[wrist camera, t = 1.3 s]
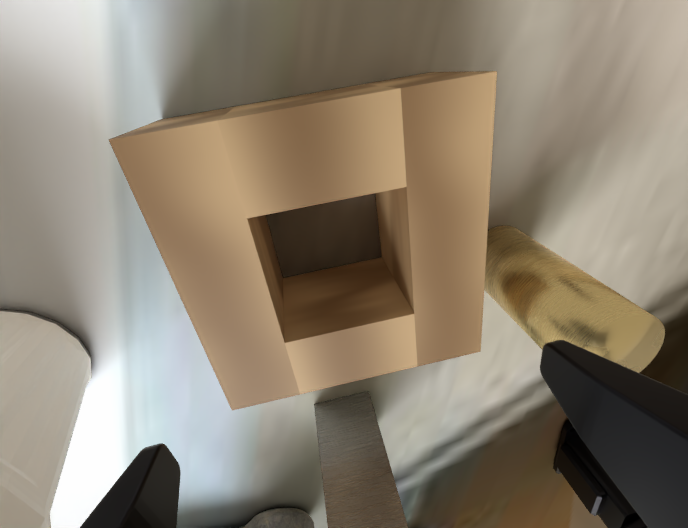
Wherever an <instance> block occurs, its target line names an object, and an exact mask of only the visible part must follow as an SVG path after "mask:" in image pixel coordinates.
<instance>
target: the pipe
mask: <svg viewBox="0 0 688 528" xmlns="http://www.w3.org/2000/svg"><path fill="white" fill-rule="evenodd" d="M238 528H314V522H313V520H312V518H311V517H310V516H309V515H308V514H307V513H306V512H304V511H303V510H300V509H297V508H276V509H271V510H267V511H264V512H261V513H260V514H258V515H256V516H255V517H253V519H252V520H251V521H250V522H249V523H247V525H246V526H242V527H238Z"/></svg>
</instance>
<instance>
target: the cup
mask: <svg viewBox="0 0 688 528" xmlns="http://www.w3.org/2000/svg"><path fill="white" fill-rule="evenodd" d="M91 377H92V375H91V358H90V353H89V352H88V351H87V349H86V348H85V346H84V345H83V343H82V342H81V340H80V339H79V337H78V336H76V335H75V334H74V333H72V332H71V331H69V330H68V329H67V328H65V327H64V326H63V325H61V324H60V323H58V322H56V321H53V320H51V319H48V318H45V317H42V316H39V315H37V314H34V313H31V312H24V311H14V310H3V309H0V528H51V522H50V510H51V507H52V503H53V500H54V496H55V493H56V489H57V486H58V482H59V479H60V476H61V472H62V469H63V465H64V462H65V458H66V455H67V451H68V448H69V444H70V441H71V437H72V434H73V430H74V427H75V423H76V420H77V417H78V413H79V410H80V406H81V403H82V399H83V396H84V392H85V389H86V386H87V384H88V383H89V381H90V379H91Z"/></svg>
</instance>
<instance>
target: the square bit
mask: <svg viewBox="0 0 688 528" xmlns="http://www.w3.org/2000/svg"><path fill="white" fill-rule="evenodd" d="M314 407H315V416H316V425H317V434H318V443H319V452H320V461H321V469H322V478H323V487H324V496H325V505H326V514H327V523H328V528H408V526H407V522H406V519H405V515H404V512H403V508H402V505H401V501H400V498H399V495H398V491H397V488H396V484H395V481H394V477H393V474H392V470H391V467H390V463H389V460H388V456H387V453H386V450H385V446H384V443H383V439H382V436H381V432H380V429H379V425H378V422H377V418H376V415H375V412H374V408H373V405H372V401H371V398H370V394H369V391H367V392H363V393H359V394H354V395H350V396H346V397H342V398H338V399H334V400H330V401H325V402H321V403H317V404H314Z"/></svg>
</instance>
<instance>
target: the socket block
mask: <svg viewBox="0 0 688 528" xmlns="http://www.w3.org/2000/svg"><path fill="white" fill-rule="evenodd" d="M496 79H497V71H483V72H430V73H425V74H419V75H413V76H407V77H402V78H396V79H390V80H384V81H379V82H373V83H367V84H361V85H356V86H350V87H344V88H338V89H333V90H327V91H321V92H315V93H310V94H304V95H298V96H292V97H287V98H281V99H275V100H269V101H264V102H258V103H252V104H246V105H241V106H235V107H229V108H223V109H218V110H212V111H206V112H200V113H195V114H189V115H183V116H177V117H172V118H166V119H161V120H158V121H156V122H153V123H151V124H148V125H146V126H143V127H140V128H138V129H135V130H133V131H130V132H127V133H125V134H122V135H120V136H117V137H115V138H112V139H109V142H110V144H111V146H112V148H113V151H114V153H115V155H116V157H117V159H118V162H119V164H120V166H121V168H122V170H123V172H124V175H125V177H126V179H127V181H128V183H129V186H130V188H131V190H132V192H133V194H134V197H135V199H136V201H137V203H138V205H139V208H140V210H141V212H142V214H143V216H144V218H145V221H146V223H147V225H148V227H149V229H150V232H151V234H152V236H153V238H154V240H155V243H156V245H157V247H158V249H159V251H160V254H161V256H162V258H163V260H164V262H165V264H166V267H167V269H168V271H169V273H170V275H171V278H172V280H173V282H174V284H175V286H176V289H177V291H178V293H179V295H180V297H181V300H182V302H183V304H184V306H185V308H186V311H187V313H188V315H189V317H190V319H191V321H192V324H193V326H194V328H195V330H196V332H197V335H198V337H199V339H200V341H201V343H202V346H203V348H204V350H205V352H206V354H207V357H208V359H209V361H210V363H211V365H212V367H213V370H214V372H215V374H216V376H217V378H218V381H219V383H220V385H221V387H222V389H223V392H224V394H225V396H226V398H227V400H228V403H229V405H230V407H231V409H232V410H236V409H240V408H244V407H249V406H253V405H257V404H261V403H265V402H270V401H274V400H278V399H282V398H287V397H291V396H295V395H299V394H303V393H308V392H312V391H316V390H320V389H324V388H329V387H333V386H337V385H341V384H345V383H350V382H354V381H358V380H362V379H366V378H371V377H375V376H379V375H383V374H388V373H392V372H396V371H400V370H404V369H409V368H413V367H417V366H421V365H425V364H430V363H434V362H438V361H442V360H446V359H451V358H455V357H459V356H463V355H468V354H472V353H476V352H480V350H481V333H482V317H483V300H484V283H485V266H486V249H487V232H488V215H489V198H490V181H491V164H492V147H493V130H494V113H495V96H496ZM373 193H375V198H376V207H377V217H378V226H379V235H380V245H381V254H382V257H380V258H375V259H371V260H366V261H361V262H356V263H352V264H347V265H342V266H338V267H333V268H328V269H323V270H319V271H314V272H309V273H305V274H300V275H295V276H290V277H286V278H283V277H282V273H281V269H280V266H279V262H278V259H277V255H276V251H275V248H274V244H273V240H272V237H271V233H270V229H269V226H268V222H267V218H266V215H267V214H272V213H278V212H283V211H288V210H293V209H298V208H303V207H308V206H313V205H318V204H323V203H328V202H333V201H338V200H343V199H348V198H353V197H358V196H363V195H368V194H373Z"/></svg>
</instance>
